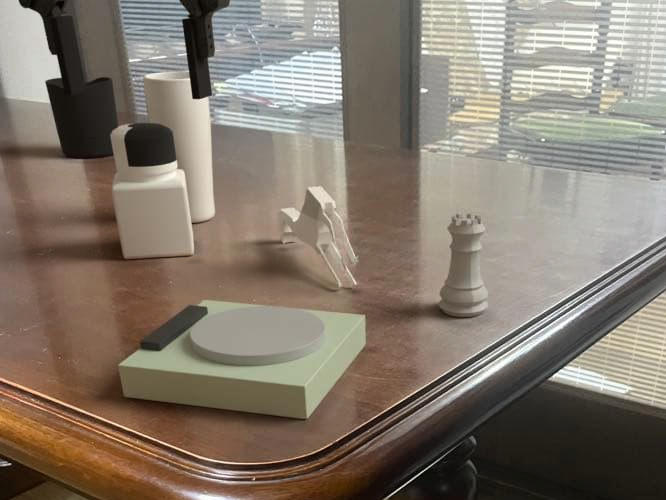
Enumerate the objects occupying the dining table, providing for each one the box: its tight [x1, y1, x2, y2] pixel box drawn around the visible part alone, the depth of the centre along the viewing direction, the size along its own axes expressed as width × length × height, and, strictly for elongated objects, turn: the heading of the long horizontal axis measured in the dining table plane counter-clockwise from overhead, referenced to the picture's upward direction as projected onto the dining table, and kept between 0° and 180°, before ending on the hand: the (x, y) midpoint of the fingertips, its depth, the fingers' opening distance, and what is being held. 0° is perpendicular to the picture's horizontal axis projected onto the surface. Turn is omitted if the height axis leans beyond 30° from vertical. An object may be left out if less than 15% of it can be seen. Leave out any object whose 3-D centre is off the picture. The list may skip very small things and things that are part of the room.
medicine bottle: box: [110, 122, 195, 260], centre depth 90 cm, size 7×7×12 cm
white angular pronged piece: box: [277, 185, 360, 290], centre depth 87 cm, size 2×11×18 cm
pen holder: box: [45, 76, 119, 159], centre depth 132 cm, size 9×9×10 cm
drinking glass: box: [142, 71, 216, 224], centre depth 99 cm, size 7×7×15 cm
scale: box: [117, 299, 367, 420], centre depth 66 cm, size 14×14×3 cm
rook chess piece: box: [437, 212, 489, 318], centre depth 76 cm, size 4×4×8 cm
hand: (138, 95), depth 85 cm, fingers open, 13 cm apart
